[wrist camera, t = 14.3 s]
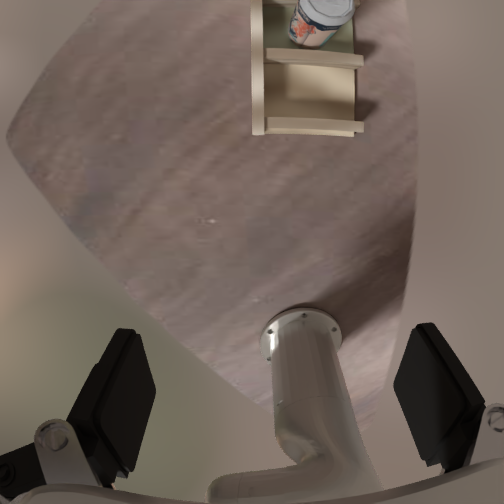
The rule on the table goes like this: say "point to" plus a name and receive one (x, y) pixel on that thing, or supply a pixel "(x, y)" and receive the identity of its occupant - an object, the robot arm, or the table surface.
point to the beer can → (318, 21)
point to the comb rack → (300, 77)
